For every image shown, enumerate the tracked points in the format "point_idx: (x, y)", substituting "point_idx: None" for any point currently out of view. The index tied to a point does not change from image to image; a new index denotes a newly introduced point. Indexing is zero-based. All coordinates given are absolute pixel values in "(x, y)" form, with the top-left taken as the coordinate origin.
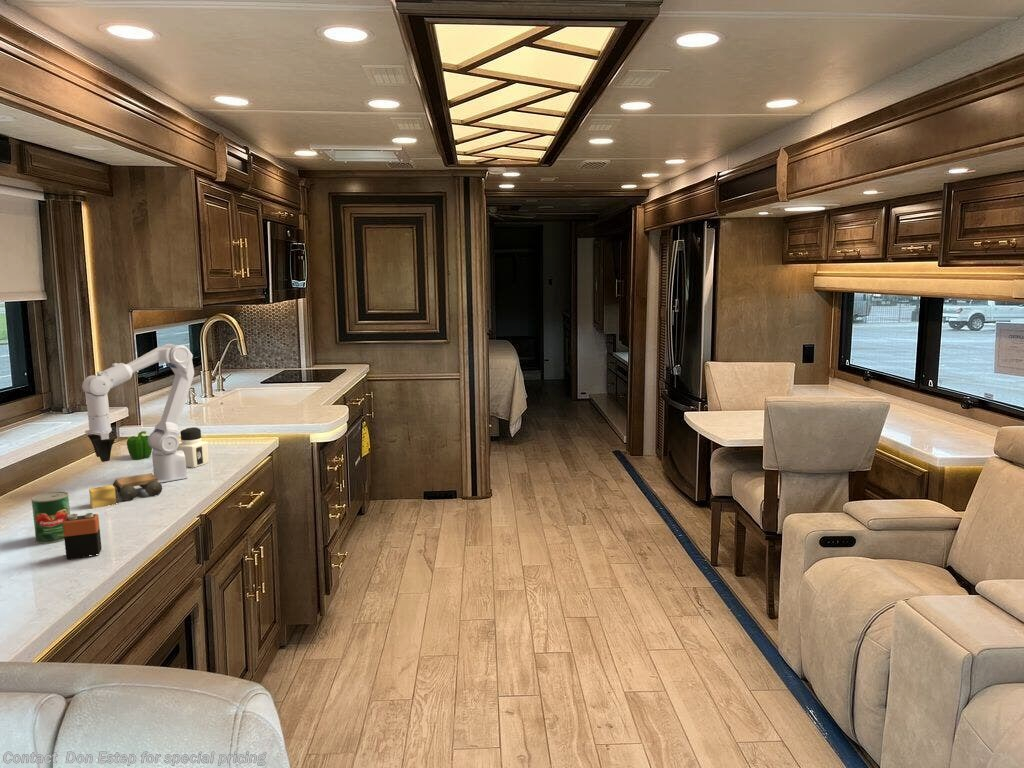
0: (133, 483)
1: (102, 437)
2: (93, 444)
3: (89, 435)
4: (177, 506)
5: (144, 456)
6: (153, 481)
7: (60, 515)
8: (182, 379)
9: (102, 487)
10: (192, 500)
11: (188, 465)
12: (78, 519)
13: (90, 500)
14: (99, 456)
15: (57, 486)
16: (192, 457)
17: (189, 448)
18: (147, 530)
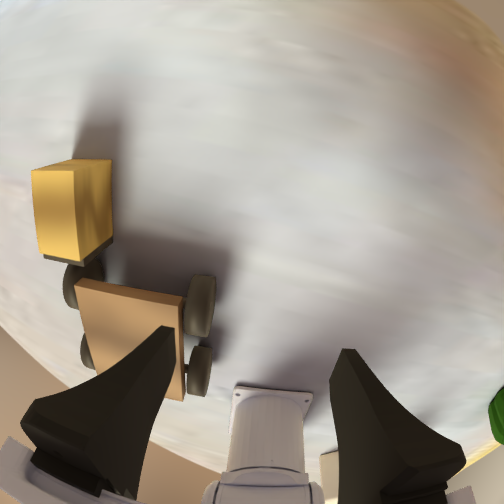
0: (84, 320)
1: (3, 454)
2: (374, 415)
3: (433, 473)
4: (11, 317)
5: (492, 404)
6: (85, 362)
7: None
8: None
9: (62, 220)
10: (38, 353)
11: (334, 455)
12: None
13: (93, 162)
14: (339, 360)
15: (489, 161)
16: (322, 476)
17: (330, 494)
18: None
